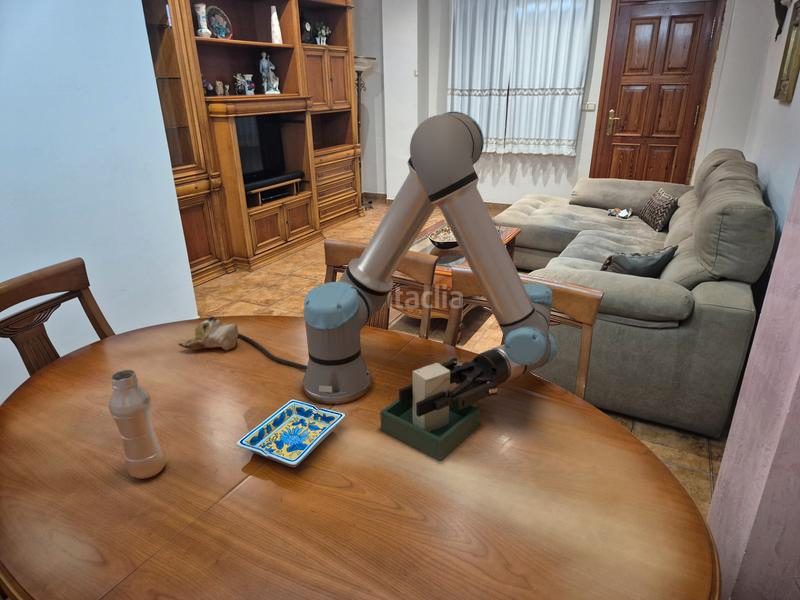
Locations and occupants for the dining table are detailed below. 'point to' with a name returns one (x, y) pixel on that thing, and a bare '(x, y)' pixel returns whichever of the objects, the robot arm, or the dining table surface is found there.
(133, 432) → the plastic bottle
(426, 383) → the cosmetic box
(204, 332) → the ceramic sculpture
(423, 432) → the tote
